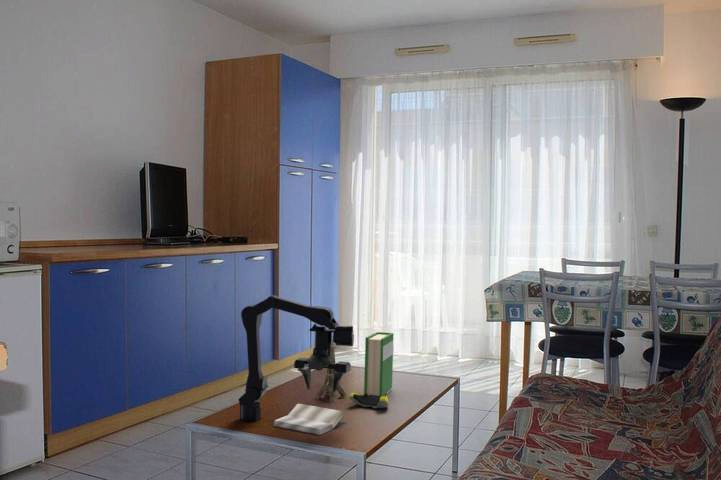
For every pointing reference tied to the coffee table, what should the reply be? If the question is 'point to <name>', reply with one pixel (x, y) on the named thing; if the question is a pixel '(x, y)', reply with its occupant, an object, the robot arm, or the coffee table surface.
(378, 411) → the coffee table surface
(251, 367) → the robot arm
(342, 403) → the coffee table surface
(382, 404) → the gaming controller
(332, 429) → the underlay mat
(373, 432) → the coffee table surface
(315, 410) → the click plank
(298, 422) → the plank
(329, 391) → the eiffel tower
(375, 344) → the hardback book
